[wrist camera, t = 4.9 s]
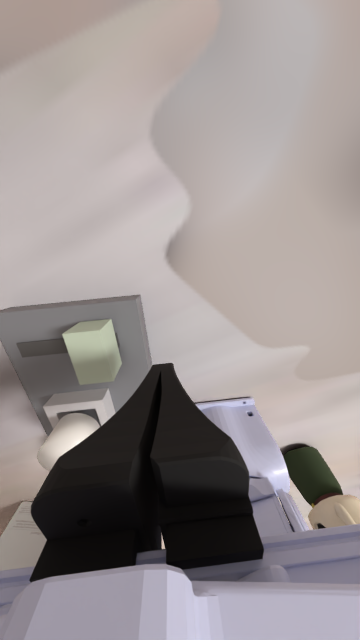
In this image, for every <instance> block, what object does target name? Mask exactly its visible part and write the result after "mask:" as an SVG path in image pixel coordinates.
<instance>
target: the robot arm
mask: <svg viewBox="0 0 360 640" xmlns="http://www.w3.org/2000/svg"><path fill="white" fill-rule="evenodd" d="M254 404H255V401H254V399H253V398H242V399H233V400H224V401H215V402H206V403H197V404H195V403H194V402H193V401H192V400H191V398H190V397H189V396H188V394H187V393H186V391H185V390H184V388H183V387H182V385H181V383H180V381H179V379H178V377H177V375H176V373H175V370H174V366H173V364H172V363H166V364H156V365H153V366H152V367H151V369H150V370H149V372H148V374H147V375H146V377H145V378H144V380H143V381H142V383H141V384H140V386H139V387H138V388H137V390H136V391H135V392H134V393H133V395H132V396H131V397H130V398H129V399H128V401H127V402H126V403H125V404H124V405H123V406H122V407H121V408H120V409H119V410H118V411H117V412H116V413H115V414H114V415H113V416H112V417H111V418H110V419H109V420H108V421H107V422H105V423H104V424H103V425H102V426H101V427H100V428H98V429H97V430H96V431H95V432H93V433H92V434H91V435H90V436H88V437H87V438H86V439H84V440H83V441H82V442H80V443H79V444H77V445H76V446H74V447H73V448H72V449H70V450H69V451H67V452H66V453H64V454H63V455H61V456H60V457H59V458H58V459H57V461H56V463H55V464H54V466H53V467H52V469H51V471H50V472H49V474H48V476H47V478H46V480H45V481H44V483H43V485H42V487H41V489H40V490H39V492H38V494H37V496H36V497H35V499H34V501H33V503H32V505H31V516H32V518H33V520H34V522H35V523H36V525H37V526H38V528H39V529H40V531H41V532H42V533H43V535H44V536H45V538H46V539H47V541H46V543H45V545H44V548H43V550H42V552H41V554H40V557H39V559H38V561H37V563H36V566H33V567H25V568H18V569H10V570H2V571H0V640H360V524H353V525H345V526H338V527H330V528H323V529H315V530H309V528H308V526H307V524H306V522H305V520H304V518H303V516H302V514H301V512H300V511H299V509H298V507H297V505H296V503H295V502H294V500H293V498H292V497H291V495H289V494H288V493H289V490H290V480H289V474H288V470H287V466H286V463H285V461H284V458H283V455H282V453H281V451H280V449H279V447H278V445H277V443H276V441H275V439H274V438H273V436H272V434H271V433H270V431H269V429H268V427H267V426H266V424H265V422H264V421H263V419H262V417H261V415H260V414H259V412H258V410H257V409H256V407H255V405H254ZM277 497H279V499H280V501H281V503H282V507H283V509H284V511H283V509H282V507H281V505H280V503H279V500H278V498H277ZM284 512H285V514H286V516H287V518H286V516H285V514H284ZM287 519H288V520H287ZM288 521H289V522H288ZM289 523H290V524H289ZM161 532H162V536H163V540H164V545H165V549H162V548H161Z"/></svg>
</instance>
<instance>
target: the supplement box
mask: <svg viewBox="0 0 360 640" xmlns="http://www.w3.org/2000/svg"><path fill="white" fill-rule="evenodd" d="M32 503H33V502H29V501H23V502H22V503H21V504H20V505H19V507H18V509H17V510H16V512H15V513H14V515H13V517H12V518H11V520H10V522H9V523H8V525H7V527H6V528H5V530H4V531H3V533H2V535H1V536H0V571H2V570H10V569H18V568H25V567H33V566H36V563H37V561H38V559H39V557H40V554H41V552H42V550H43V548H44V545H45V543H46V541H47V539H46V538H45V536H44V535H43V533H42V532H41V531H40V529H39V528H38V526H37V525H36V523H35V522H34V520H33V518H32V516H31V505H32Z"/></svg>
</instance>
